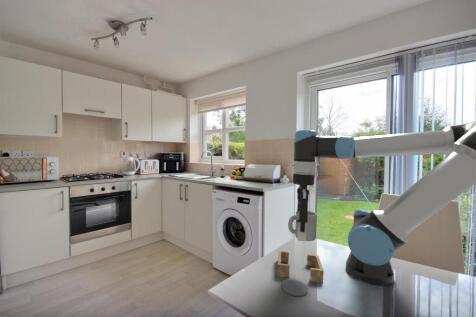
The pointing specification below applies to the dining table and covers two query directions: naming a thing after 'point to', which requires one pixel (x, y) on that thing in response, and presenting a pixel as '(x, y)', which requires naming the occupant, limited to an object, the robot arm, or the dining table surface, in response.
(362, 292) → the dining table surface
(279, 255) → the wooden brackets
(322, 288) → the dining table surface
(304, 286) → the coaster
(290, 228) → the cup
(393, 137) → the robot arm
